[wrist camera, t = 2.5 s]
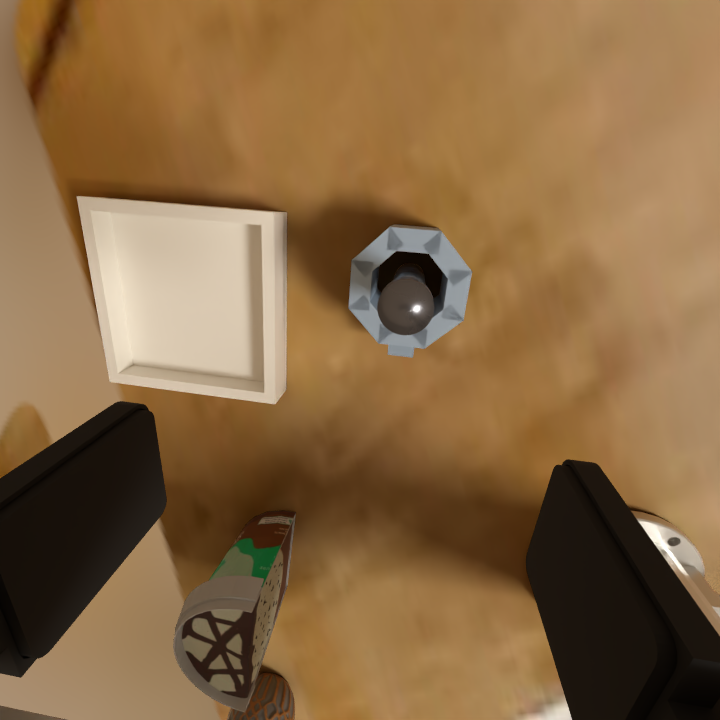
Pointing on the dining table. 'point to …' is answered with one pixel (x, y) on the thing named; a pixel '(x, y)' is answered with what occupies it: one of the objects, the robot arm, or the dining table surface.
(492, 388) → the dining table surface
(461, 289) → the ring
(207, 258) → the tray
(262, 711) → the vase
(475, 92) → the dining table surface
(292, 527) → the food container
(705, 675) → the robot arm
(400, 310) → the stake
